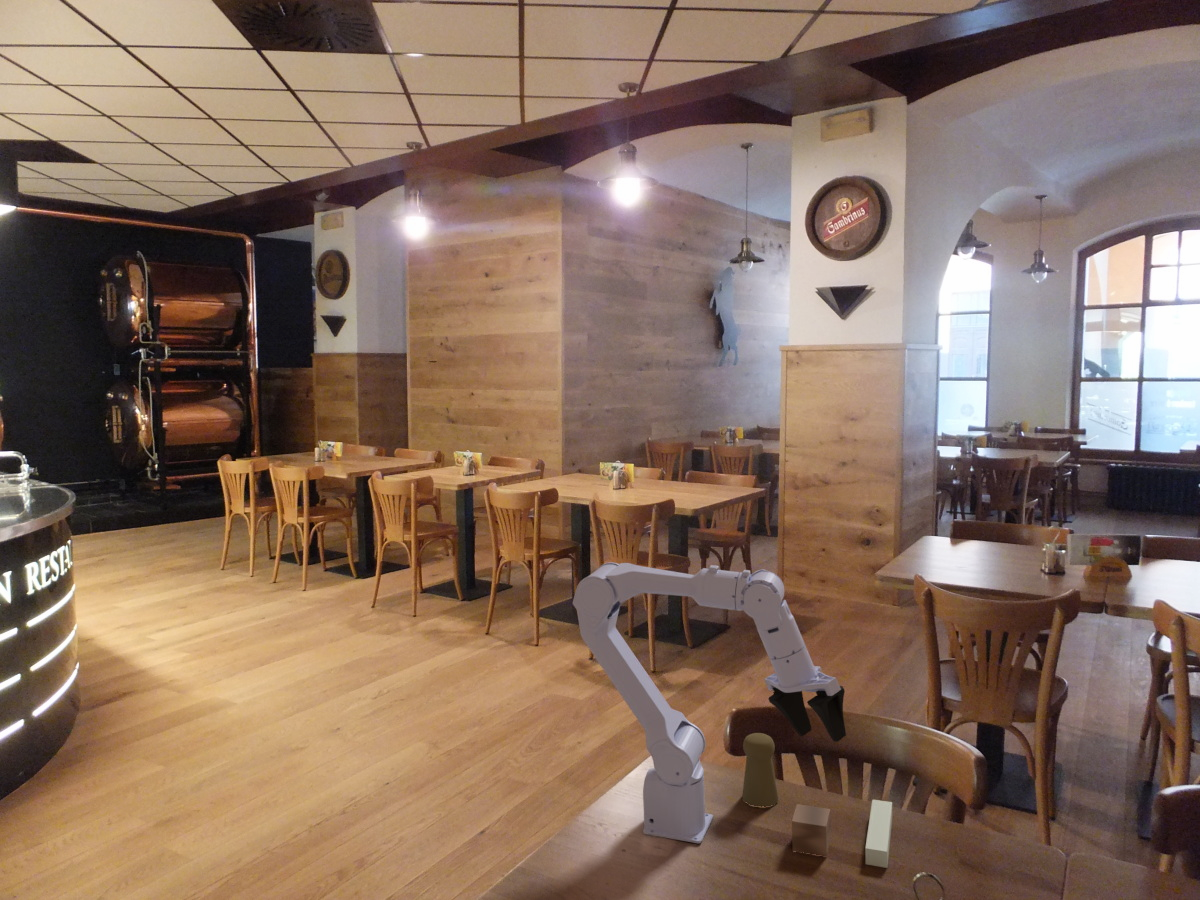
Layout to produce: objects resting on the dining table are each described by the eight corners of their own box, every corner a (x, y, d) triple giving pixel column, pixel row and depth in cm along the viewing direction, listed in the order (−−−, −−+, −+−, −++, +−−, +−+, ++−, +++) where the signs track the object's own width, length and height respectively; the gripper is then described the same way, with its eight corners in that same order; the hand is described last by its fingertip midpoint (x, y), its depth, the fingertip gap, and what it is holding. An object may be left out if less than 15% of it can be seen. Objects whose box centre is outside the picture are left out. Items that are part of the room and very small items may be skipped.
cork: (778, 809, 138) (777, 745, 137) (741, 807, 140) (739, 744, 138) (778, 790, 144) (777, 729, 143) (742, 788, 146) (740, 727, 144)
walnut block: (792, 852, 127) (791, 821, 126) (797, 834, 131) (797, 803, 131) (826, 858, 125) (826, 826, 124) (830, 839, 130) (830, 809, 129)
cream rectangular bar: (865, 864, 123) (865, 848, 123) (872, 814, 136) (872, 799, 135) (887, 868, 122) (887, 851, 121) (892, 817, 135) (892, 802, 134)
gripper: (838, 639, 121) (875, 726, 121) (775, 639, 134) (809, 718, 134) (804, 661, 118) (842, 751, 117) (743, 659, 130) (777, 740, 130)
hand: (822, 735), depth 125 cm, fingers open, 7 cm apart
